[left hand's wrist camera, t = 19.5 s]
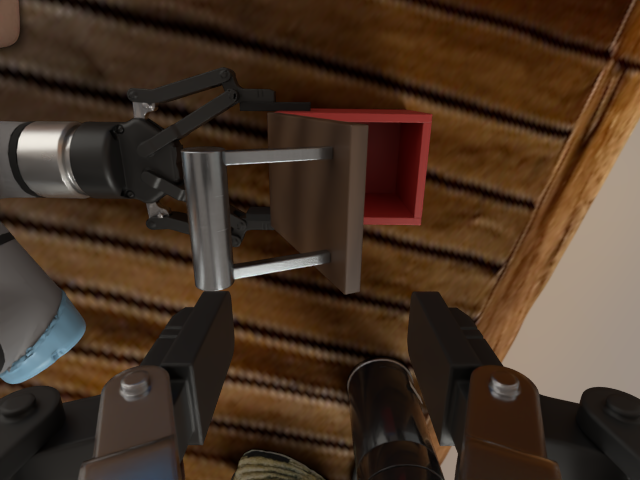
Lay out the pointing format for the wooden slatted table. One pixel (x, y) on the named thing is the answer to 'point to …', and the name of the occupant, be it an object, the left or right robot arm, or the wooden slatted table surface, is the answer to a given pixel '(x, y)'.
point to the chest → (390, 161)
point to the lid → (285, 201)
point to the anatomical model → (9, 22)
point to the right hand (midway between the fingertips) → (310, 163)
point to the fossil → (272, 467)
